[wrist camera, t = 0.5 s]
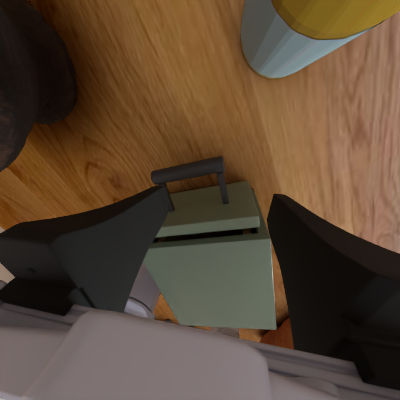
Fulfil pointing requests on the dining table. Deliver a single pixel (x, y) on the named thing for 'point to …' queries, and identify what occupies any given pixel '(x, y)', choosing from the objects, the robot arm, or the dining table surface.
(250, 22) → the bottle
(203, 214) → the drawer
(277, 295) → the dining table surface
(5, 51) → the jug
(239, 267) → the cabinet
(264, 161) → the dining table surface
